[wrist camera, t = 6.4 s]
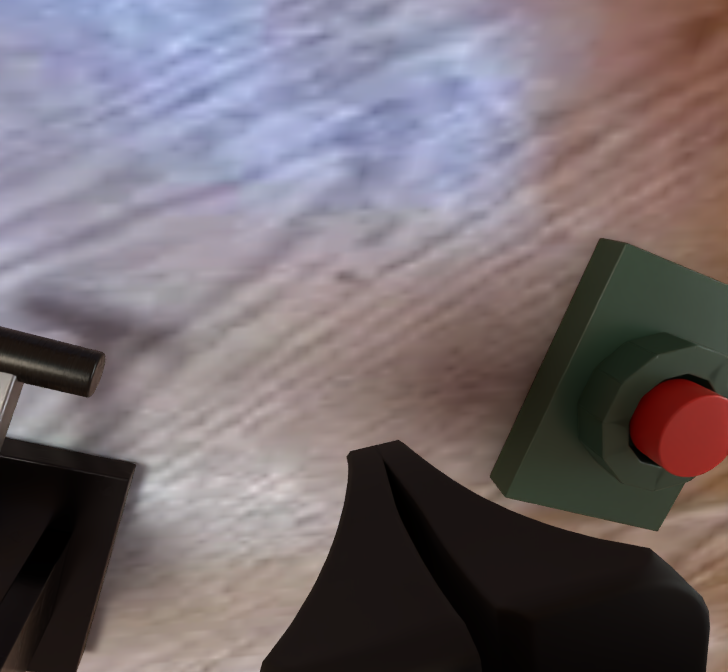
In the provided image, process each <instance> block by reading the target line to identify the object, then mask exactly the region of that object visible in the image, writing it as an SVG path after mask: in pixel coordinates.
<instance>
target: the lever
mask: <svg viewBox="0 0 728 672" xmlns="http://www.w3.org/2000/svg"><path fill="white" fill-rule="evenodd" d="M104 365H105V354H104V353H103V352H100V351H96V350H92V349H88V348H84V347H81V346H77V345H73V344H69V343H65V342H61V341H57V340H53V339H49V338H45V337H41V336H37V335H33V334H29V333H25V332H21V331H17V330H13V329H9V328H5V327H1V326H0V450H1V448H2V445H3V442H4V439H5V436H6V433H7V430H8V428H9V425H10V422H11V419H12V416H13V413H14V410H15V408H16V405H17V402H18V399H19V396H20V393H21V390H22V387H23V385H24V383H26V384H30V385H35V386H39V387H44V388H48V389H52V390H57V391H61V392H65V393H70V394H74V395H79V396H83V397H91V396H92V394H93V393H94V392H95V390H96V388H97V386H98V384H99V381H100V379H101V376H102V373H103V369H104Z"/></svg>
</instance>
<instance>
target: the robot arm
mask: <svg viewBox="0 0 728 672" xmlns="http://www.w3.org/2000/svg"><path fill="white" fill-rule="evenodd" d="M347 461H348V483H347V489H346V495H345V501H344V506H343V510H342V514H341V518H340V521H339V525H338V529H337V532H336V535H335V538H334V541H333V543H332V546H331V549H330V551H329V554H328V556H327V559H326V561H325V563H324V565H323V567H322V570H321V572H320V574H319V576H318V578H317V580H316V582H315V584H314V586H313V588H312V590H311V592H310V593H309V595H308V597H307V598H306V600H305V602H304V603H303V605H302V607H301V608H300V610H299V612H298V613H297V615H296V617H295V618H294V620H293V621H292V623H291V624H290V626H289V627H288V629H287V630H286V632H285V633H284V634H283V636H282V637H281V638H280V640H279V641H278V642H277V644H276V645H275V646H274V648H273V649H272V650H271V652H270V653H269V654H268V656H267V657H266V658H265V659H264V661H263V662H262V666H261V669H260V672H706V664H707V654H708V643H709V633H710V622H709V611H708V608H707V606H706V604H705V602H704V600H703V597H702V596H701V595H700V594H699V593H697V592H696V591H695V590H694V589H693V588H692V587H691V586H690V585H689V584H688V583H687V582H686V581H685V580H684V579H683V578H682V577H681V576H680V575H679V574H678V573H677V572H676V571H675V570H674V569H673V568H672V567H671V566H670V565H669V564H668V563H666V562H665V561H664V560H663V559H662V558H661V557H659V556H658V555H657V554H656V553H655V552H653V551H652V550H651V549H650V548H646V547H640V546H635V545H630V544H624V543H619V542H614V541H608V540H603V539H598V538H594V537H590V536H586V535H583V534H579V533H575V532H571V531H567V530H564V529H561V528H558V527H554V526H551V525H548V524H545V523H542V522H540V521H537V520H534V519H531V518H529V517H526V516H523V515H521V514H518V513H516V512H513V511H511V510H508V509H506V508H504V507H502V506H500V505H498V504H496V503H494V502H491V501H489V500H487V499H485V498H483V497H481V496H479V495H478V494H476V493H474V492H472V491H470V490H469V489H467V488H465V487H464V486H462V485H460V484H459V483H457V482H456V481H454V480H452V479H451V478H450V477H448V476H447V475H445V474H444V473H442V472H441V471H439V470H438V469H436V468H435V467H434V466H432V465H431V464H430V463H428V462H427V461H426V460H424V459H423V458H422V457H420V456H419V455H418V454H416V453H415V452H414V451H413V450H411V449H410V448H409V447H408V446H406V445H405V444H404V443H403V442H401V441H400V440H396V441H392V442H387V443H383V444H379V445H375V446H370V447H366V448H362V449H358V450H354V451H350V453H349V454H348V455H347Z"/></svg>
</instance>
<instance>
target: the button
mask: <svg viewBox="0 0 728 672" xmlns="http://www.w3.org/2000/svg"><path fill="white" fill-rule="evenodd" d="M629 430H630V436H631V439H632V442H633V444H634V445H635V447H636V448H637V449H638V450H639V451H640V452H642V453H643V454H644V455H646V456H647V457H649V458H650V459H651V460H653V461H654V462H655V463H657V464H658V465H659V466H661V467H662V468H663V469H665V470H666V471H668V472H669V473H671V474H673V475H675V476H680V477H694V476H698V475H701V474H704V473H706V472H708V471H710V470H711V469H713V468H714V467H716V466H717V465H718V464H719V463H721V462H722V461H723V460H724V459H725V457H726V456H727V455H728V399H727V398H726V397H724V396H721V395H719V394H717V393H715V392H713V391H711V390H709V389H707V388H705V387H703V386H701V385H699V384H697V383H695V382H693V381H690V380H687V379H671V380H667V381H664V382H661V383H659V384H658V385H656V386H655V387H654V388H653V389H651V390H650V391H649V392H648V393H647V394H645V395H644V396H643V397H642V398H641V400H640V402H639V404H638V406H637V408H636V410H635V412H634V414H633V415H632V417H631V419H630V427H629Z"/></svg>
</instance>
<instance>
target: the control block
mask: <svg viewBox="0 0 728 672" xmlns="http://www.w3.org/2000/svg"><path fill="white" fill-rule="evenodd" d="M671 379H687V380H690V381H693V382H695V383H697V384H699V385H701V386H703V387H705V388H707V389H709V390H711V391H713V392H715V393H717V394H719V395H721V396H724V397H726V398H727V399H728V285H727V284H724V283H722V282H719V281H717V280H715V279H712V278H710V277H707V276H705V275H703V274H700V273H698V272H695V271H693V270H691V269H688V268H686V267H683V266H681V265H679V264H676V263H674V262H671V261H669V260H667V259H664V258H662V257H659V256H657V255H655V254H652V253H650V252H647V251H645V250H643V249H640V248H638V247H635V246H633V245H631V244H628V243H625V242H620V241H614V240H609V239H604V238H600V240H599V242H598V244H597V246H596V248H595V251H594V253H593V255H592V257H591V259H590V261H589V264H588V266H587V268H586V270H585V272H584V274H583V276H582V279H581V281H580V283H579V285H578V287H577V289H576V292H575V294H574V296H573V298H572V300H571V302H570V305H569V307H568V309H567V311H566V313H565V315H564V317H563V320H562V322H561V324H560V326H559V328H558V330H557V333H556V335H555V337H554V339H553V341H552V343H551V346H550V348H549V350H548V352H547V354H546V356H545V358H544V361H543V363H542V365H541V367H540V369H539V371H538V374H537V376H536V378H535V380H534V382H533V384H532V387H531V389H530V391H529V393H528V395H527V397H526V399H525V402H524V404H523V406H522V408H521V410H520V412H519V415H518V417H517V419H516V421H515V423H514V425H513V427H512V430H511V432H510V434H509V436H508V438H507V440H506V443H505V445H504V447H503V449H502V451H501V453H500V456H499V458H498V460H497V462H496V464H495V466H494V468H493V471H492V473H491V475H490V478H491V479H492V480H493V482H494V483H495V484H496V486H497V487H498V488H499V490H500V491H501V492H502V494H503V495H504V496H505V497H506V498H511V499H515V500H520V501H524V502H528V503H533V504H537V505H542V506H546V507H551V508H555V509H560V510H564V511H569V512H573V513H578V514H582V515H586V516H591V517H595V518H600V519H604V520H609V521H613V522H618V523H622V524H627V525H631V526H635V527H640V528H644V529H649V530H653V531H658V530H659V528H660V527H661V525H662V523H663V521H664V519H665V518H666V516H667V514H668V512H669V511H670V509H671V507H672V505H673V504H674V502H675V500H676V498H677V497H678V495H679V493H680V491H681V489H682V488H683V486H684V484H685V483H686V482H688V481H691V480H692V479H693V478H695V477H696V476H694V477H680V476H675V475H673V474H671V473H669V472H668V471H666V470H665V469H663V468H662V467H661V466H659V465H658V464H657V463H655V462H654V461H653V460H651V459H650V458H649V457H647V456H646V455H644V454H643V453H642V452H640V451H639V450H638V449H637V448H636V447H635V445H634V444H633V442H632V439H631V436H630V430H629V427H630V419H631V417H632V415H633V414H634V412H635V410H636V408H637V406H638V404H639V402H640V400H641V398H642V397H643V396H644V395H645V394H647V393H648V392H649V391H650V390H651V389H653V388H654V387H655V386H656V385H658V384H659V383H661V382H664V381H667V380H671Z"/></svg>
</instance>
